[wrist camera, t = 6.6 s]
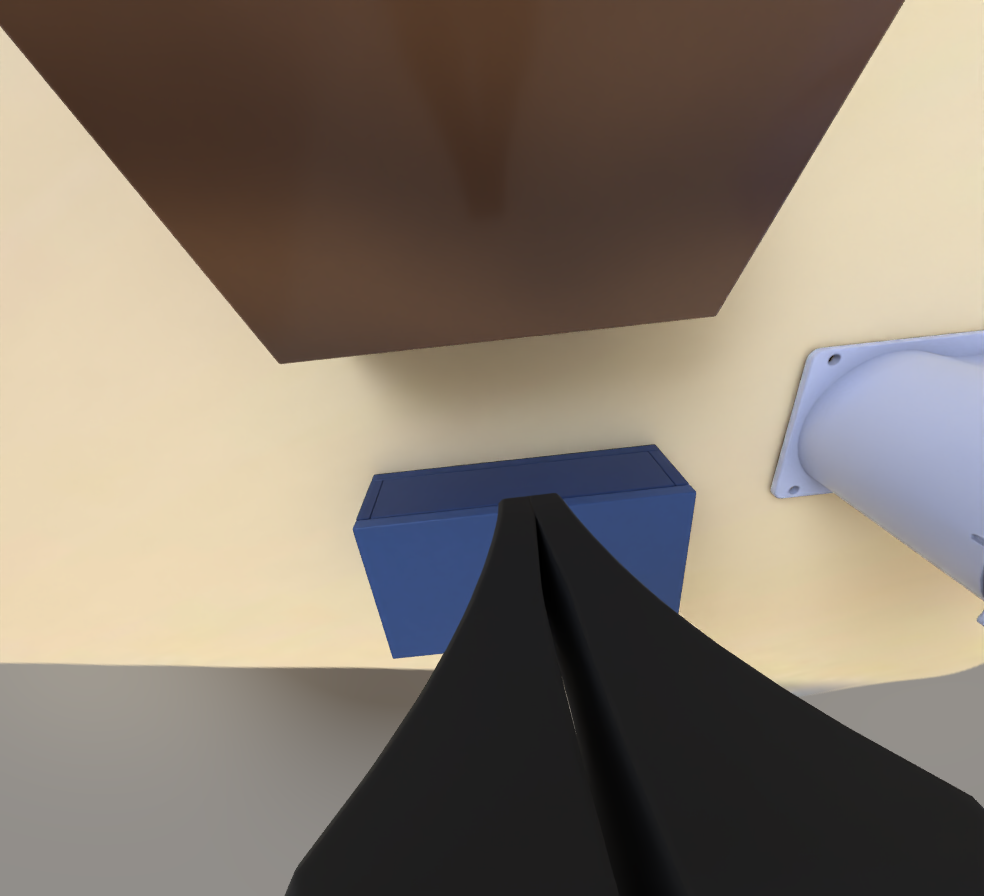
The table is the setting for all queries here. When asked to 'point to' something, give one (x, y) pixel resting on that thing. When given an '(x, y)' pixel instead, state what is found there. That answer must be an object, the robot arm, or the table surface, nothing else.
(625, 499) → the blue case lid
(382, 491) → the blue case
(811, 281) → the table surface
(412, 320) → the pen box lid
